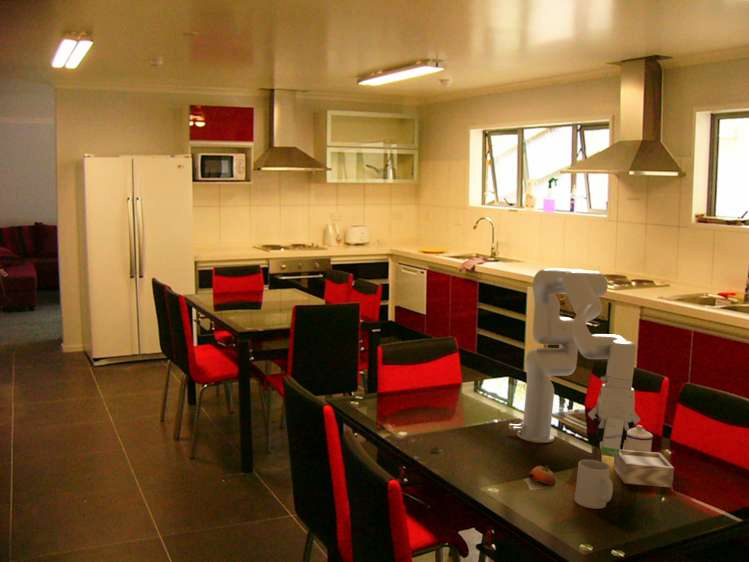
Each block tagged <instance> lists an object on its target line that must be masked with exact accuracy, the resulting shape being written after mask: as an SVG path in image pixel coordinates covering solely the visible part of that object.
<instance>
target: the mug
mask: <svg viewBox="0 0 749 562" xmlns="http://www.w3.org/2000/svg"><path fill="white" fill-rule="evenodd" d="M610 473H611V467H610V465H609V464H608V463H606V462H603V461H600V460H596V459H581V460H580V461H578V466H577V475H576V484H575V493H574V501H575V503H577V505H579V506H581V507H584V508H588V509H593V510H595V509H596V510H598V509H604V508H605V507H606V506H607V503H608V502H610V501H611V499H612V497H613V489H614V487H613V481H612V479H611V478H610Z"/></svg>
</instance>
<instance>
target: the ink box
mask: <svg viewBox="0 0 749 562" xmlns="http://www.w3.org/2000/svg"><path fill="white" fill-rule="evenodd" d="M623 426H624V419H622V418H615V417H609V416H607V420H606V422H605V424H604V426H603V428H604V436H603V441H602V442H601V441H600V440H599V449H600V452H601V456H605V457H612V458H614V457H617V458H618V457H619V450H620V449H621V444H622V443H621V438H622V432H623Z"/></svg>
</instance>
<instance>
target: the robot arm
mask: <svg viewBox="0 0 749 562" xmlns="http://www.w3.org/2000/svg"><path fill="white" fill-rule="evenodd" d="M608 285H609V284H608V280H607V278H606V276H605V274H603V273H602V272H600V271H596V270H586V269H578V268H577V269H573V268H555V267H554V268H553V267H551V268H542V269H540V270H539V271H537V272H536V273H535V275H534V277H533V280H532V293H533V298H534V299H533V300H534V309H533V321H532V338H533V340H534V342H535V343H536V344H540V345H550V346H551V345H553V346H555V345H558V348H557V347H554V348H553V347H539V348H534V349H531V350H530V351H528V353H527V354H526V357H525V366H526V367H525V370H526V386H525V387H526V388H525V399H524V408H523V409H524V410H523V419H522V420H523V421H521V423H517V424H516V423H509V424H508V429H509V430H513V431H515V432H517V438H520V439H521V440H523V441H527V442H530V443H531V442H532V443H535V444H536V443H537V444H545V443H546V444H548V443H552V442H554V440H555V435H554V434H553V433H551V430H552V429H551V428H552V418H553V410H554V409H553V408H554V398H555V388H554V384H553V383H552V380H551V379H550V377H560V376H561V377H564V376H565V377H566V376H567V377H568V376H570V375H572V374H573V373H574V372H575V370H576V368H577V364H578V352H579V353H580V354H581V356H582V357H583V358H585V359H588V360H607V363H606V373H605V375H604V376H600V381H601V382H603V383H602V385H601V387H600V392H599V393H598V394H599V395H598V398H597V404H596V405H595V406H594V408H592V409H591V410H590V411H589V412H588V413H587V415H588V417H589V418H590V419H591V420H592V421H593V422H594V423H595V425H597V431H596V437H597V438H598V440H599V442H600V441H601V442H602V441H603V436H604V428H603V426H604V424H605V422H606V420H607V416H609V417H615V418H622V419H624V426H623V432H622V438H621V444H622V445H623V444H624V440H626V437H627V431H628V430H629V429H632V428H633V427H634V426H635V425H637V423H639V422H640V421H641V418H640V416H638V414H637V413H636V411H635V406H636V404H635V402H636V401H635V399H636V398H635V395H636V394H635V389H634V388H633V387H632V386H633V377H634V371H635V365H636V362H635V361H636V355H637V345H636V343H635V342H633V341H630V340H627V339H626V338H625V337H623V336H622V335H618V334H613V333H612V334H611V333H609V334H608V333H607V334H606V333H591V332H590V331H589V328H588V326H587V324H586V323H588V322H590V321H592V320H594V319H596V318H597V317H598V316H599V315H601V313H602V312H603V307H604V306H603V304H602V301H601V300H600V298H601V297H603V296H605V294H606V293H607V291H608ZM556 294H561V295H566V297H567V299H568V301H569V303H570V304H571V307H572V308H573V309H572V310H574V311H573V312H574V313H575V317H574V319H573V318H571V317H566V316H565V317H564V316H560V310H561V307H560V306H561V304H560V301H559V299H558V297H557V295H556ZM596 415H597V416H598V417H596Z"/></svg>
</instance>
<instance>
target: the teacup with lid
mask: <svg viewBox="0 0 749 562" xmlns="http://www.w3.org/2000/svg"><path fill="white" fill-rule="evenodd" d="M653 439H654V435H653V434H652V433H651V432H649V431H647V430H646V429H645V428H643V425H640V424H636V425H635V427H631V428H630V429H629V430H628V431H627V437H626V440H624V444H622V445H623V446H622V450H632V451H644V452H652V445H653V444H652V443H653Z"/></svg>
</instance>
